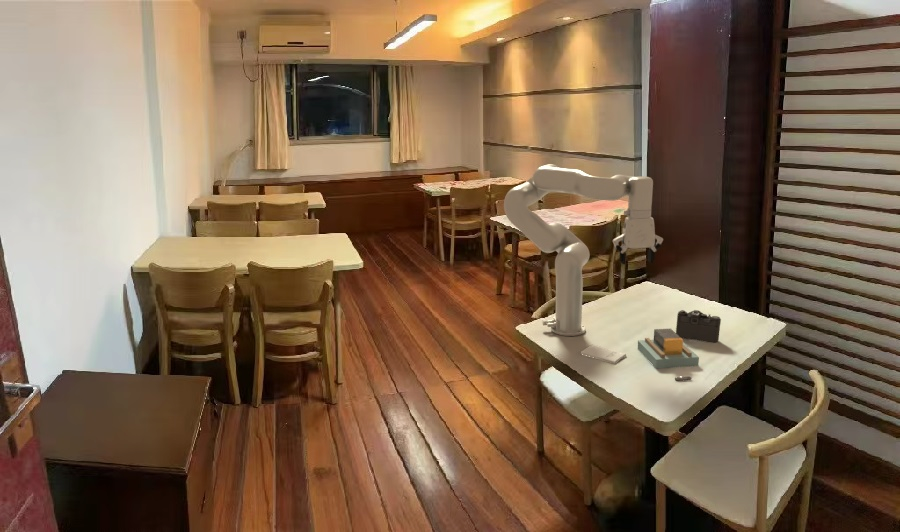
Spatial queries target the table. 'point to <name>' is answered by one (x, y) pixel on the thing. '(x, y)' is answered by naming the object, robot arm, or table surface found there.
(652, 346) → the stand
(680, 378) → the grey metal rounded bar
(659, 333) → the block
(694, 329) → the camera
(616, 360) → the external hard drive
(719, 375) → the table surface
